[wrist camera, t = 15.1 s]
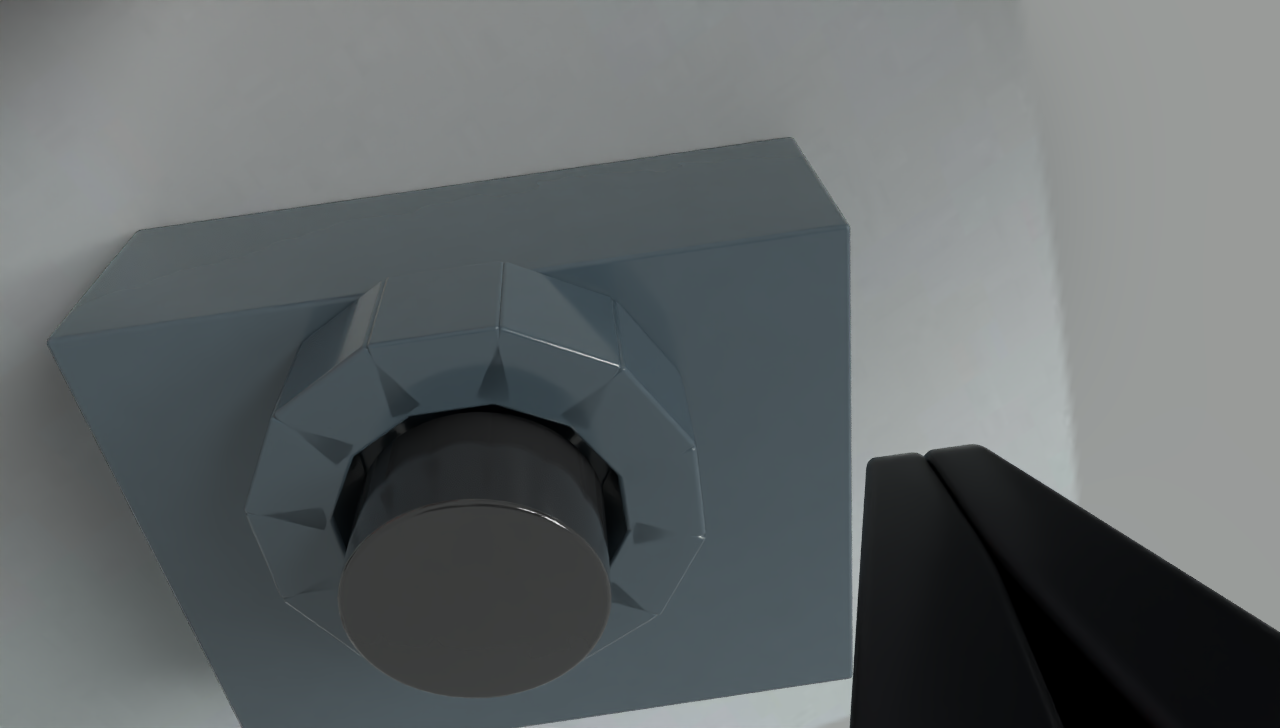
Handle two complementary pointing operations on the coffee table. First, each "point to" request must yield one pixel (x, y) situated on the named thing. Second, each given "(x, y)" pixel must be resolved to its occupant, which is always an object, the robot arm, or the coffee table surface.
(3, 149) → the coffee table surface
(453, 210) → the dispenser
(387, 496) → the dark grey round knob
